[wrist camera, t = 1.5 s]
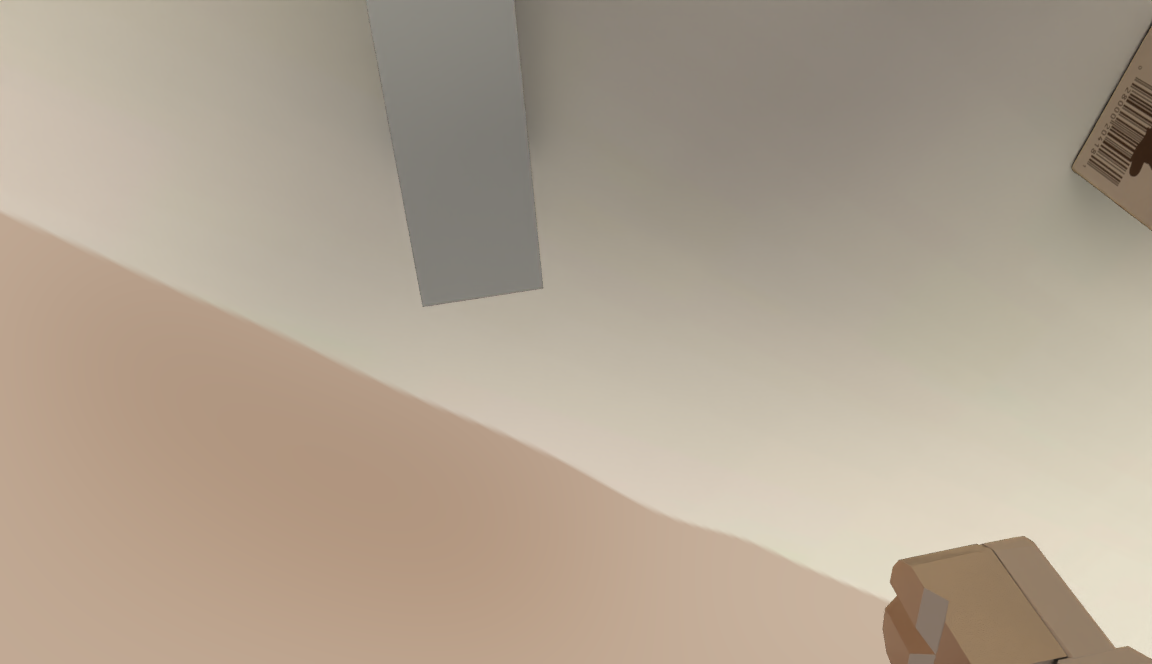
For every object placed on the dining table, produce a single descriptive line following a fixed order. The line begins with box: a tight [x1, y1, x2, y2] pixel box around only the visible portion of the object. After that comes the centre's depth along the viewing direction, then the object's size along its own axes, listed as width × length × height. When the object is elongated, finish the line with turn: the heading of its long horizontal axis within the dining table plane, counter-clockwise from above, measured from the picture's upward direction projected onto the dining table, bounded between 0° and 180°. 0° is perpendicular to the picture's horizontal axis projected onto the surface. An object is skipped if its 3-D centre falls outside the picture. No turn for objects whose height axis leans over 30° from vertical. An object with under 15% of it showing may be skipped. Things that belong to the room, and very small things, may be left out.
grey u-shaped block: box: [366, 0, 543, 307], centre depth 26 cm, size 3×8×8 cm, turn 4°
